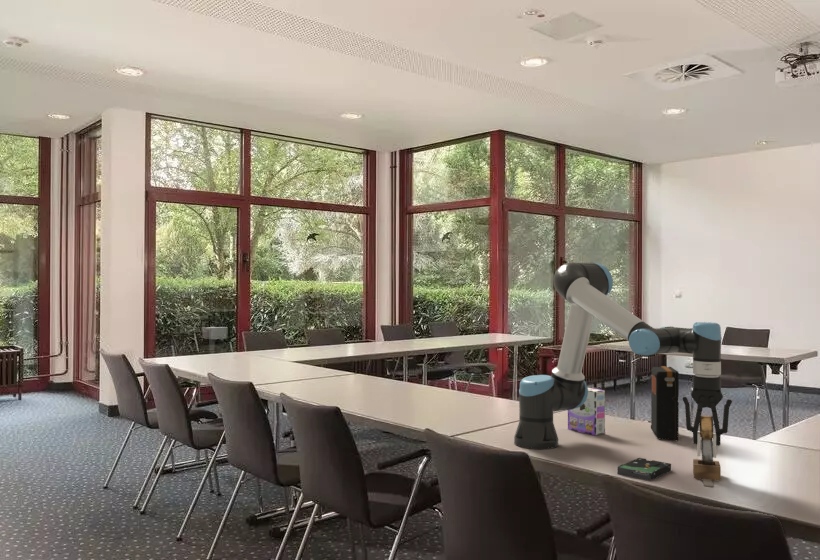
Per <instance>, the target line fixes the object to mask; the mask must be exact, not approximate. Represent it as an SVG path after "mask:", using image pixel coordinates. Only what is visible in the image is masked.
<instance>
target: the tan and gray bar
mask: <svg viewBox="0 0 820 560" xmlns="http://www.w3.org/2000/svg"><path fill="white" fill-rule="evenodd" d="M699 432H700V448H701V460H702V464H703V465H713V461H714V458H713V433H714V421H713V416H712V415H702V414H701V417H700V423H699Z"/></svg>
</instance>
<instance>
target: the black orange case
mask: <svg viewBox="0 0 820 560" xmlns="http://www.w3.org/2000/svg"><path fill="white" fill-rule="evenodd" d="M679 373H680V372H679V371H678V370H676V369H675V368H673V367H672V366H667V365H666V366H665V365H661V366H653V367H652V368H651V370H650V375H651V377H650V378H651V381H650V382H651V383H650V385H651V386H650V387H651V389H650V390H651V392H650V393H651V395H650V397H651V398H650V399H651V401H650V402H651V404H650V406H651V407H650V409H651V410H650V415H651V418H650V419H651V423H650V429H651V431H652V433H653V434H654V436H655V438H656V439H658V440H669V441H675V440H677V441H679V431H680V430H679V427H680V425H679V422H680V421H679V414H680V412H679V407H680V404H679V403H680V402H679V395H680V394H679V393H680V391H679V389H680V388H679V386H680V384H679V383H680V382H679V378H680V376H679V375H680V374H679Z"/></svg>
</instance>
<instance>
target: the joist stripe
mask: <svg viewBox="0 0 820 560" xmlns="http://www.w3.org/2000/svg"><path fill="white" fill-rule="evenodd" d="M702 483H703V487H709V488H714V484H713V480H712V479H704V478H703V479H702Z"/></svg>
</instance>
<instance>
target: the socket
mask: <svg viewBox="0 0 820 560" xmlns="http://www.w3.org/2000/svg"><path fill="white" fill-rule="evenodd" d="M721 473H722V471H721V464H720V461H719V460H713V465H703V464H702V459H699V458H693V459H692V474H693V475H692V476H693V479H694V478H696V479H695V480H703V478H704V479H712V481H714V480H716V481H715V482H721V479H722V478H721Z"/></svg>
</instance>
